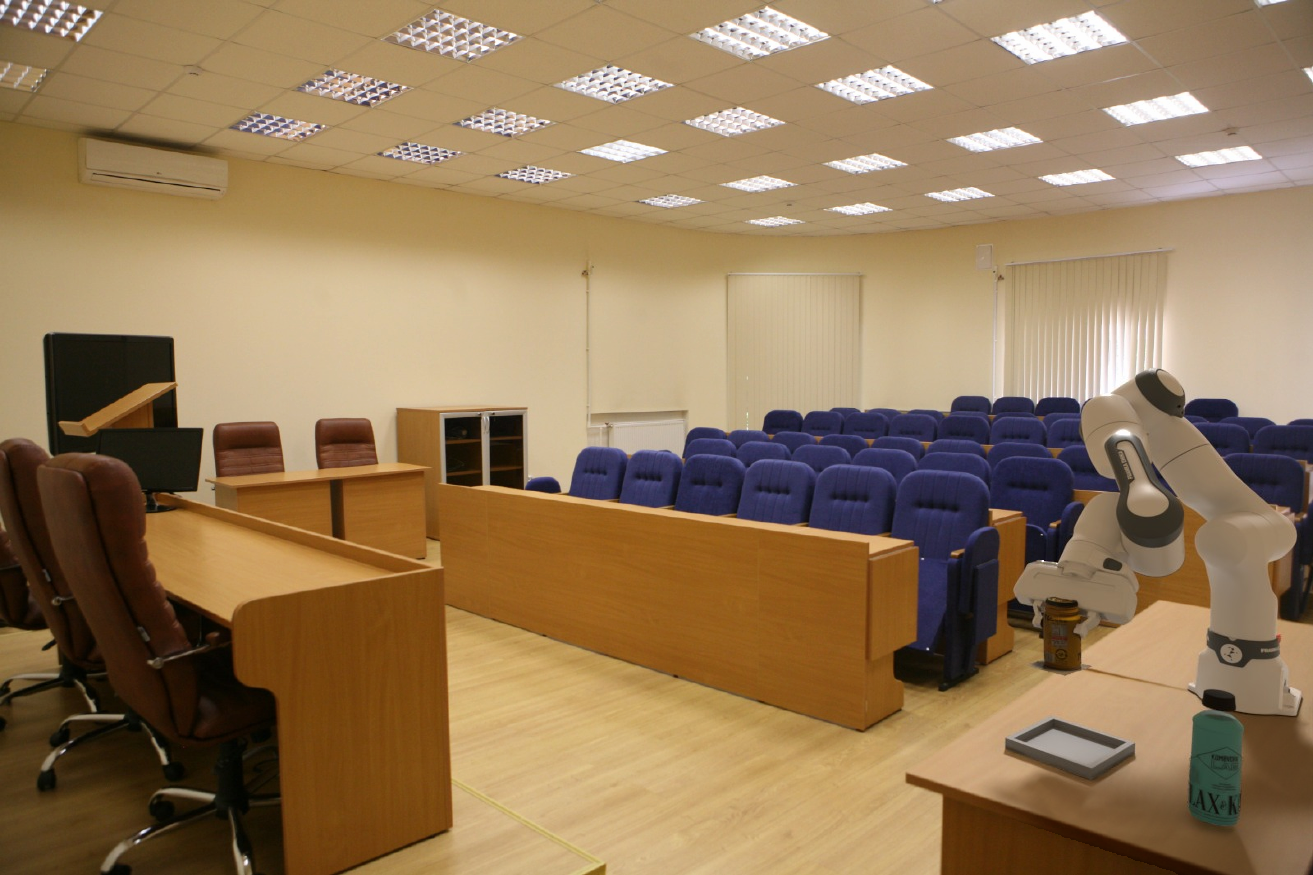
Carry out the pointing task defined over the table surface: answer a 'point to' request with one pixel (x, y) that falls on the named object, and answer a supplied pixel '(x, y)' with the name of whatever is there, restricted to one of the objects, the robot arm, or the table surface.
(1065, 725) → the tray
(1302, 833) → the table surface
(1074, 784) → the table surface
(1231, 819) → the beverage bottle
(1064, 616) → the condiment
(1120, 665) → the table surface
